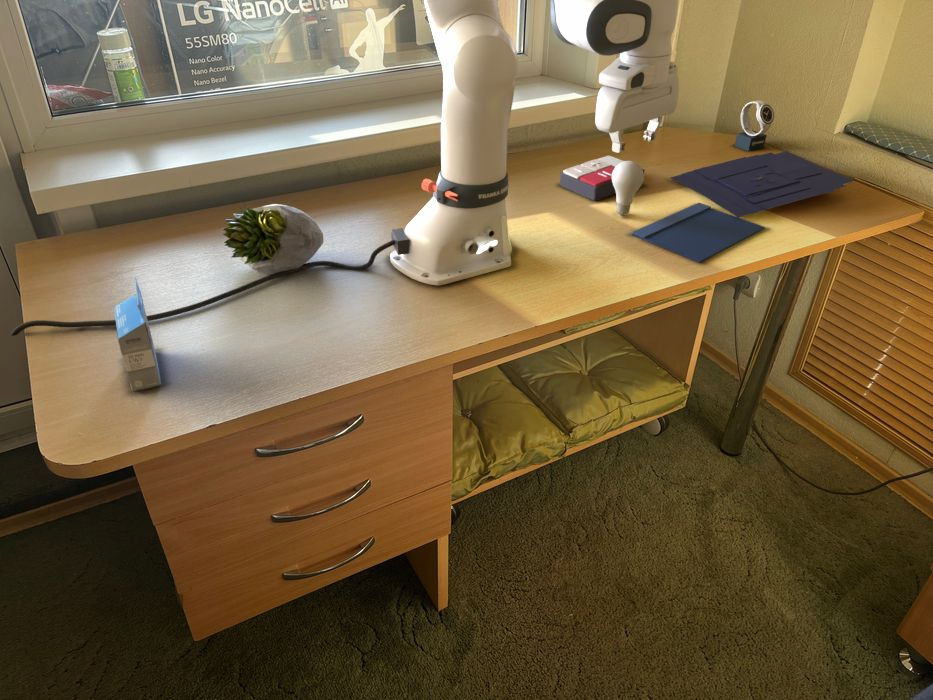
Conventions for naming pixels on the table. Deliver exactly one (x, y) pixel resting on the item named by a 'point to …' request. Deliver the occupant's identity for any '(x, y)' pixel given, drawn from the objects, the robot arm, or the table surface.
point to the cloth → (698, 232)
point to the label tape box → (136, 343)
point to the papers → (761, 182)
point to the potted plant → (273, 238)
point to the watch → (749, 137)
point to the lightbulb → (626, 184)
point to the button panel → (591, 178)
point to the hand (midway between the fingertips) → (633, 145)
